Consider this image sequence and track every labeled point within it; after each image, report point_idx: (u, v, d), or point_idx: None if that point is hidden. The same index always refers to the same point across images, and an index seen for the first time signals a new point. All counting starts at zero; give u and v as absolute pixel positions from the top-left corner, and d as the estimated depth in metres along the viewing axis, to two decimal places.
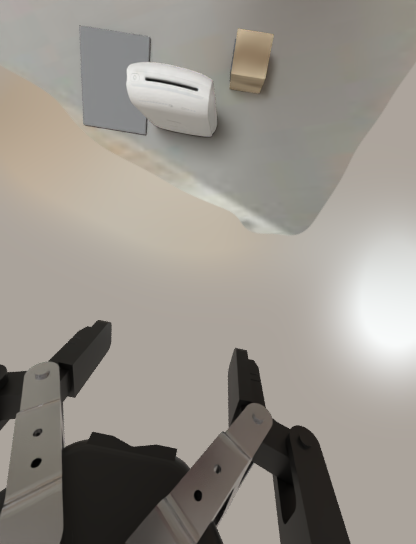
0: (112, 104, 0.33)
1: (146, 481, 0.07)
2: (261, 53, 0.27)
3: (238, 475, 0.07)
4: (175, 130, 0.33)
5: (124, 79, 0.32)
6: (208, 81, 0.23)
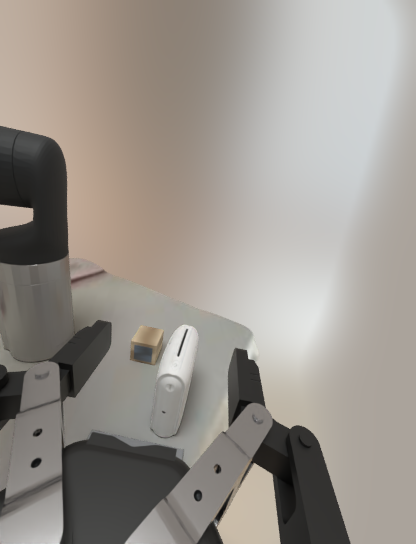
0: None
1: (146, 481, 0.07)
2: (149, 330, 0.41)
3: (238, 475, 0.07)
4: None
5: None
6: None
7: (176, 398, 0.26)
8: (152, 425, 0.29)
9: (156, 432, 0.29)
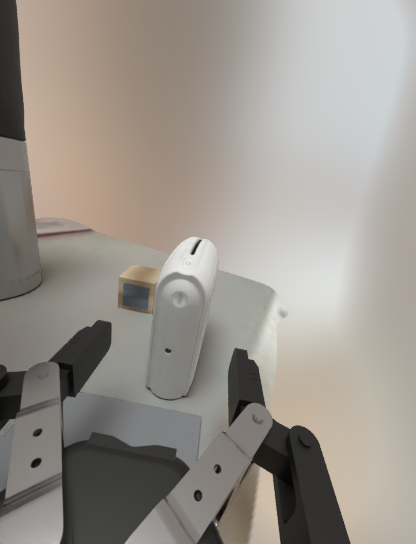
0: None
1: (146, 481, 0.07)
2: (144, 269, 0.30)
3: (238, 475, 0.07)
4: None
5: None
6: None
7: (189, 321, 0.15)
8: (149, 380, 0.18)
9: (155, 391, 0.18)
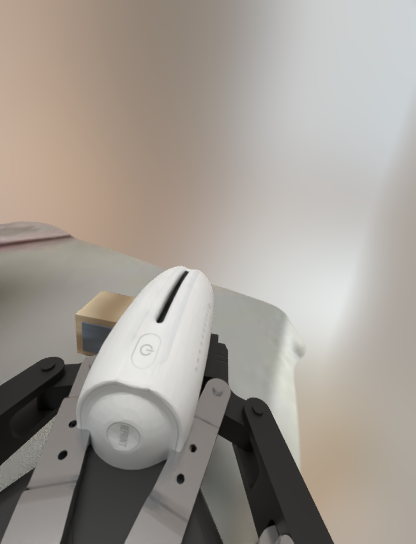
0: None
1: (146, 481, 0.07)
2: (116, 299, 0.22)
3: (212, 446, 0.07)
4: None
5: None
6: None
7: None
8: None
9: None
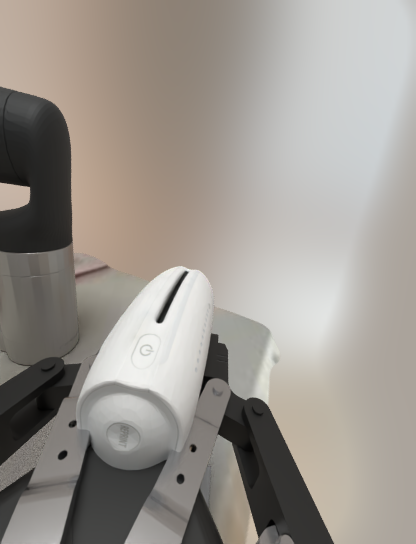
0: None
1: (146, 481, 0.07)
2: None
3: (212, 446, 0.07)
4: None
5: None
6: None
7: None
8: None
9: None
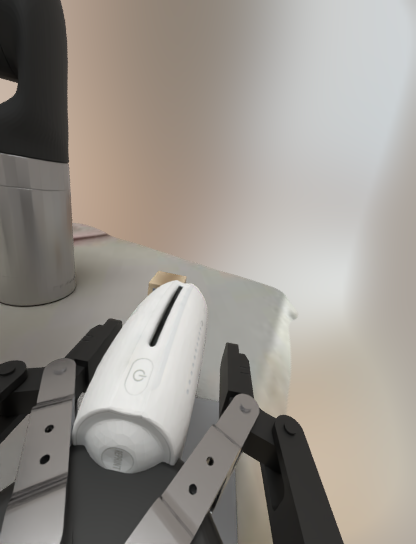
0: None
1: (146, 481, 0.07)
2: (169, 275, 0.33)
3: (230, 464, 0.07)
4: None
5: None
6: None
7: None
8: None
9: None
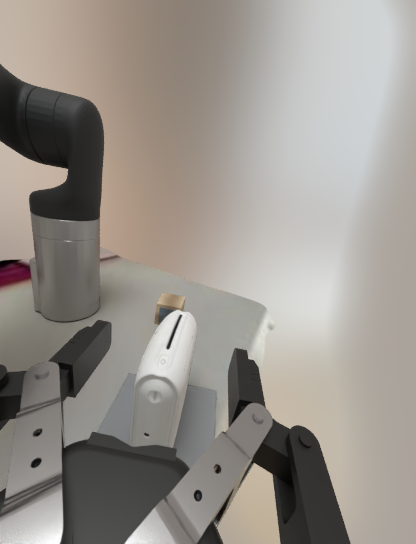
0: (185, 425, 0.24)
1: (146, 481, 0.07)
2: (171, 296, 0.42)
3: (238, 475, 0.07)
4: None
5: None
6: None
7: (164, 412, 0.17)
8: None
9: None
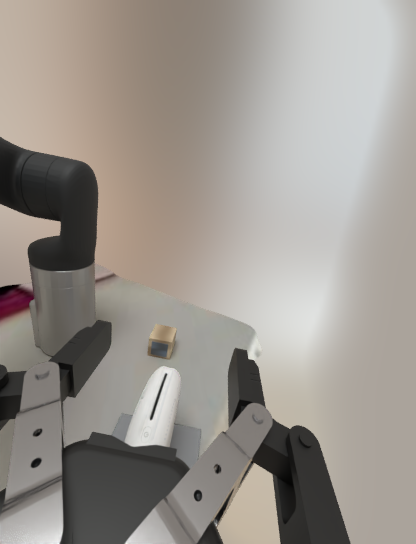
0: None
1: (146, 481, 0.07)
2: (163, 328, 0.45)
3: (238, 475, 0.07)
4: None
5: None
6: (159, 368, 0.27)
7: None
8: None
9: None
